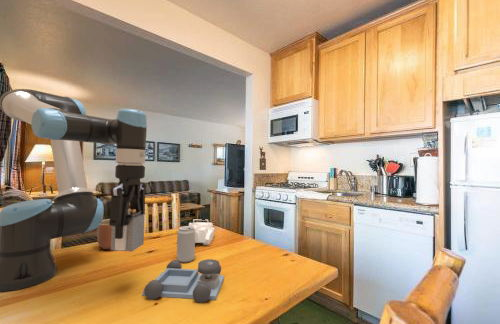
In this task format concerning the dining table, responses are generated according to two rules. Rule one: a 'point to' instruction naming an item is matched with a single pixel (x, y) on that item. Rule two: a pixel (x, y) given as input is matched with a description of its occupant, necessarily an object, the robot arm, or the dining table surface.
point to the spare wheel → (208, 267)
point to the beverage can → (185, 244)
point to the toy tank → (203, 232)
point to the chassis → (184, 284)
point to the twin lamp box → (132, 231)
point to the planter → (104, 234)
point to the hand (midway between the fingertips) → (127, 245)
